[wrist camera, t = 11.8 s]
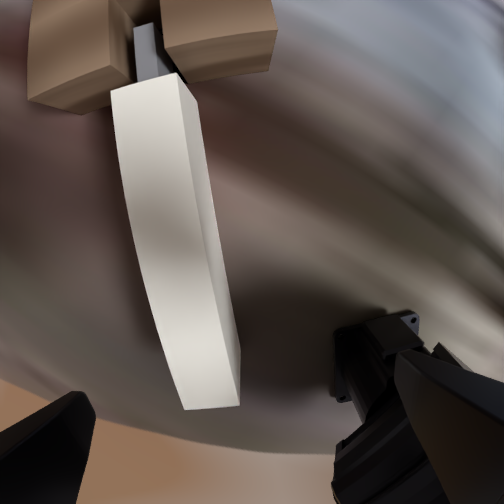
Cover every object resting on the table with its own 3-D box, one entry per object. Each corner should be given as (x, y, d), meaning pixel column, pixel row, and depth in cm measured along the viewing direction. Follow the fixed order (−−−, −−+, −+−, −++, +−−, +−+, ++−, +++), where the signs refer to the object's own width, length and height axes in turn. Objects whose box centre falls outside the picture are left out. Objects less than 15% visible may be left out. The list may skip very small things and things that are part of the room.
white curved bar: (240, 348, 21) (239, 405, 15) (198, 353, 21) (184, 409, 15) (190, 51, 16) (168, 8, 10) (143, 63, 16) (106, 26, 11)
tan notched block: (268, 71, 17) (277, 29, 11) (81, 115, 17) (27, 100, 11) (242, -45, 14) (242, -99, 8) (79, -2, 14) (40, -38, 9)
